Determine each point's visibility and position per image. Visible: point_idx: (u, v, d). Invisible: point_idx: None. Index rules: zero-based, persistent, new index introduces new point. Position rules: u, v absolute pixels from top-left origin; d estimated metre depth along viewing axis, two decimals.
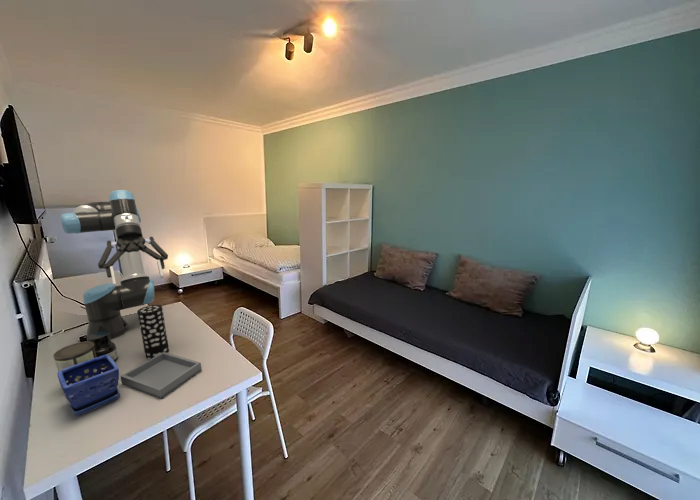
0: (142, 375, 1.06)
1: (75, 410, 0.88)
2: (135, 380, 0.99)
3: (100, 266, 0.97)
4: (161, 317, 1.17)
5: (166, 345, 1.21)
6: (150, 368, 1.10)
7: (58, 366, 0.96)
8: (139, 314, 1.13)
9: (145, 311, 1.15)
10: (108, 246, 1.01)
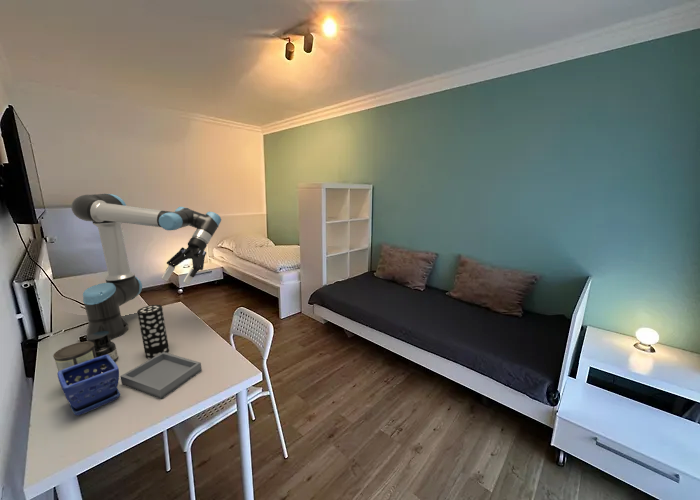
0: (142, 375, 1.06)
1: (75, 410, 0.88)
2: (135, 380, 0.99)
3: (200, 269, 1.26)
4: (161, 317, 1.17)
5: (166, 345, 1.21)
6: (150, 368, 1.10)
7: (58, 366, 0.96)
8: (139, 314, 1.13)
9: (145, 311, 1.15)
10: None
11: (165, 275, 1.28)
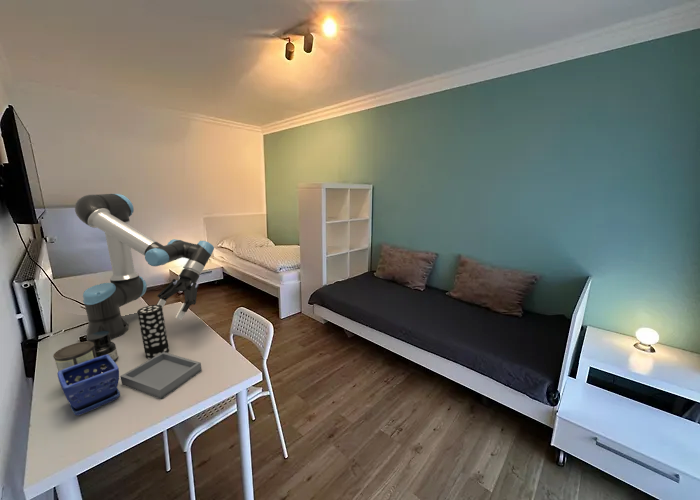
0: (142, 375, 1.06)
1: (75, 410, 0.88)
2: (135, 380, 0.99)
3: (193, 303, 1.23)
4: (161, 317, 1.17)
5: (166, 345, 1.21)
6: (150, 368, 1.10)
7: (58, 366, 0.96)
8: (139, 314, 1.13)
9: (145, 311, 1.15)
10: None
11: None
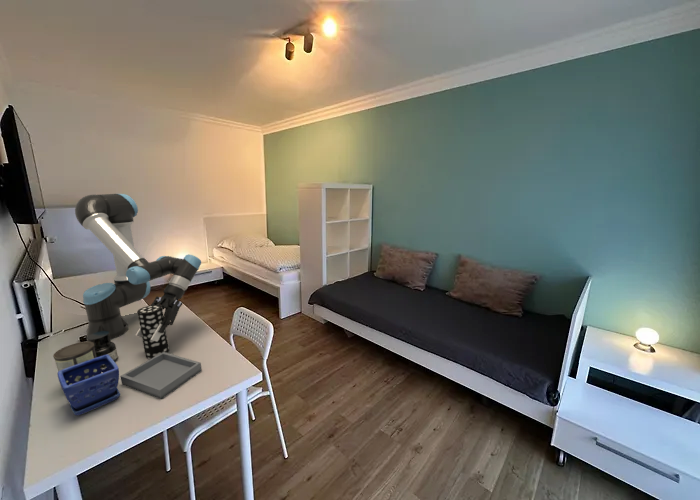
0: (142, 375, 1.06)
1: (75, 410, 0.88)
2: (135, 380, 0.99)
3: (169, 324, 1.18)
4: (161, 317, 1.17)
5: (166, 345, 1.21)
6: (150, 368, 1.10)
7: (58, 366, 0.96)
8: (139, 314, 1.13)
9: (145, 311, 1.15)
10: None
11: (140, 331, 1.18)
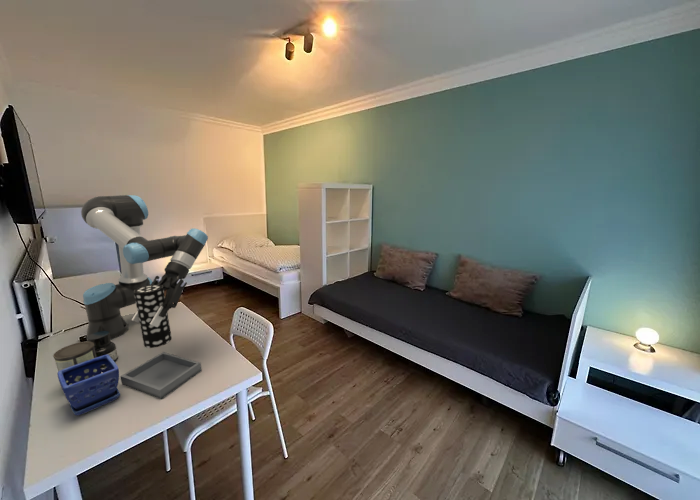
0: (142, 375, 1.06)
1: (75, 410, 0.88)
2: (135, 380, 0.99)
3: (172, 307, 1.00)
4: (162, 298, 1.00)
5: (168, 332, 1.03)
6: (150, 368, 1.10)
7: (58, 366, 0.96)
8: (136, 294, 0.95)
9: (143, 290, 0.97)
10: None
11: (137, 316, 1.00)
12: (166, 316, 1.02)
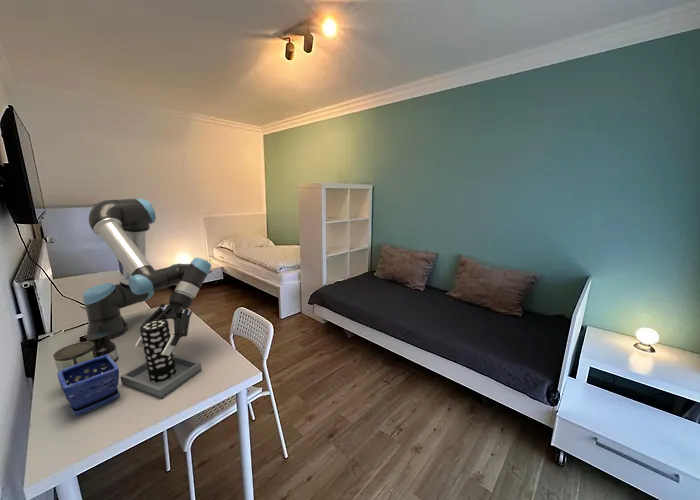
0: (142, 375, 1.06)
1: (75, 410, 0.88)
2: (135, 380, 0.99)
3: None
4: (167, 334, 1.02)
5: (173, 365, 1.05)
6: None
7: (58, 366, 0.96)
8: (142, 331, 0.98)
9: (149, 327, 1.00)
10: None
11: (140, 341, 1.04)
12: None
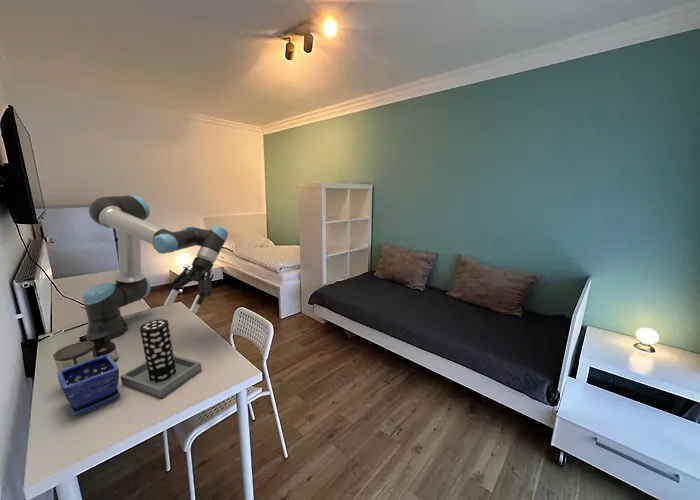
0: (142, 375, 1.06)
1: (75, 410, 0.88)
2: (135, 380, 0.99)
3: (208, 295, 1.12)
4: (167, 334, 1.02)
5: (173, 365, 1.05)
6: None
7: (58, 366, 0.96)
8: (142, 331, 0.98)
9: (149, 327, 1.00)
10: None
11: (168, 301, 1.14)
12: (171, 350, 1.04)
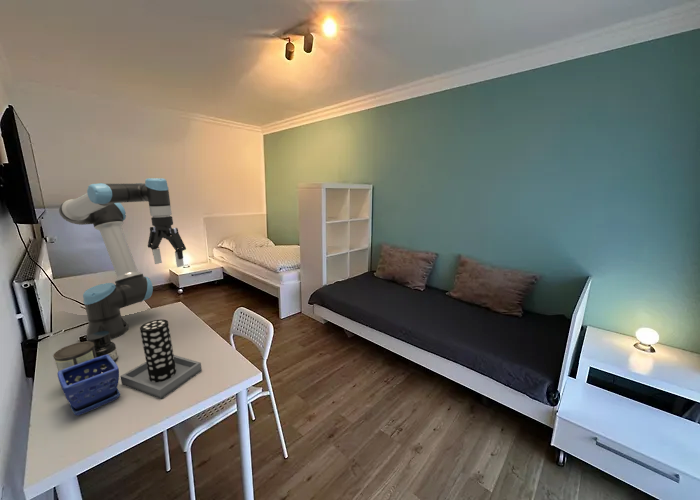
0: (142, 375, 1.06)
1: (75, 410, 0.88)
2: (135, 380, 0.99)
3: (184, 249, 1.22)
4: (167, 334, 1.02)
5: (173, 365, 1.05)
6: None
7: (58, 366, 0.96)
8: (142, 331, 0.98)
9: (149, 327, 1.00)
10: None
11: (156, 260, 1.27)
12: (171, 350, 1.04)
